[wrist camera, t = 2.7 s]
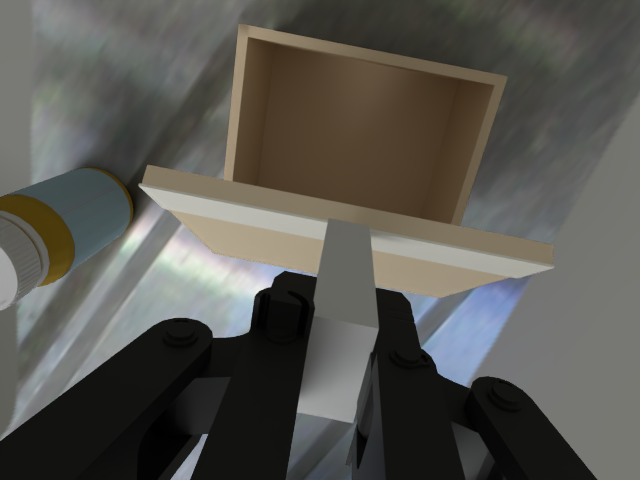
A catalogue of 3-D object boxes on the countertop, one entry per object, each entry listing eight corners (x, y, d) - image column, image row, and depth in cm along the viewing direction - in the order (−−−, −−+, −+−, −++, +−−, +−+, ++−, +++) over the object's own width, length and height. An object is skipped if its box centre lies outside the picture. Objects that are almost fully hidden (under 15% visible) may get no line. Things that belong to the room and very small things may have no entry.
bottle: (94, 149, 39) (-49, 195, 25) (151, 207, 41) (46, 279, 27) (49, 196, 41) (-106, 262, 27) (105, 250, 43) (-14, 337, 29)
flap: (442, 287, 30) (440, 299, 30) (215, 242, 30) (212, 254, 30) (556, 245, 17) (554, 267, 17) (144, 163, 17) (138, 185, 17)
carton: (420, 234, 40) (440, 285, 31) (249, 201, 40) (217, 241, 31) (467, 73, 35) (508, 76, 25) (270, 35, 35) (238, 23, 25)
